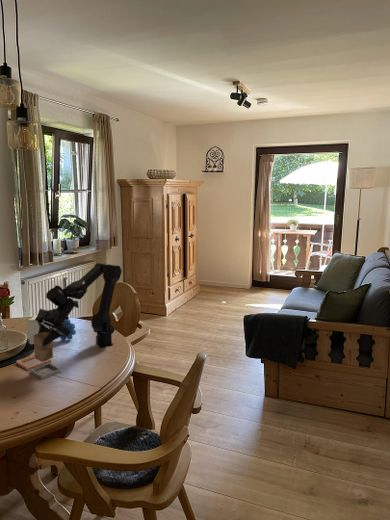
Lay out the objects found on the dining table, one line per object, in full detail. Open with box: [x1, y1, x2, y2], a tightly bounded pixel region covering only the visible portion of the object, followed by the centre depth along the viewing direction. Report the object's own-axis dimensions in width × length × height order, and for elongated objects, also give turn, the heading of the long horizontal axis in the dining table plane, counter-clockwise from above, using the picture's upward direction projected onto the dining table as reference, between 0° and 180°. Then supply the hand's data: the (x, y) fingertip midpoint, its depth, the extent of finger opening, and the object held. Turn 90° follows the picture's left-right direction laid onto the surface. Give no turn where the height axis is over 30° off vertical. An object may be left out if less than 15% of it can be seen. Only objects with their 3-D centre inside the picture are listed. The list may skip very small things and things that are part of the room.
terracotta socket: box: [16, 354, 52, 372], centre depth 167 cm, size 10×10×1 cm
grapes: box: [50, 318, 77, 341], centre depth 190 cm, size 12×7×12 cm, turn 105°
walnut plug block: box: [33, 332, 54, 363], centre depth 158 cm, size 5×5×10 cm
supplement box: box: [27, 314, 49, 345], centre depth 189 cm, size 7×7×13 cm
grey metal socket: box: [29, 362, 62, 380], centre depth 159 cm, size 9×9×1 cm
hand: (39, 343), depth 157 cm, fingers closed on walnut plug block, 5 cm apart
